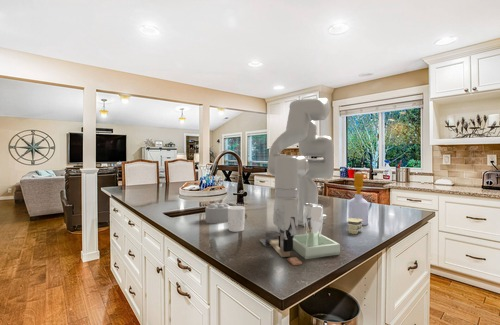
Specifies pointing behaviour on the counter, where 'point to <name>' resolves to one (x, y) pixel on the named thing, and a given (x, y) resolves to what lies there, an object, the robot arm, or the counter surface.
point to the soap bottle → (358, 202)
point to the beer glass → (313, 223)
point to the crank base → (292, 260)
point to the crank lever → (277, 241)
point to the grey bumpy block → (216, 213)
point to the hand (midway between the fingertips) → (285, 248)
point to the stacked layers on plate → (354, 225)
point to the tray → (315, 247)
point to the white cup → (236, 218)
